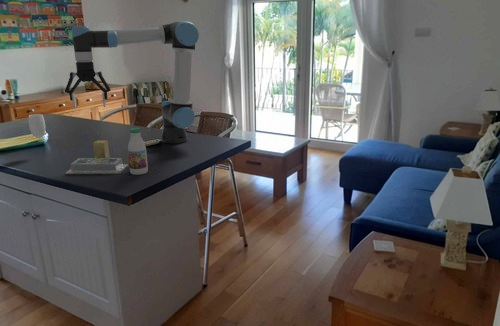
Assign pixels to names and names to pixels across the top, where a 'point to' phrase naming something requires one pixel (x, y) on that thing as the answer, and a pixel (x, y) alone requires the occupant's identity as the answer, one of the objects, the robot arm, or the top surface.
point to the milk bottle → (137, 153)
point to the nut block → (101, 149)
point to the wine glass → (37, 125)
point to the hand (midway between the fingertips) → (90, 107)
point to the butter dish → (97, 166)
